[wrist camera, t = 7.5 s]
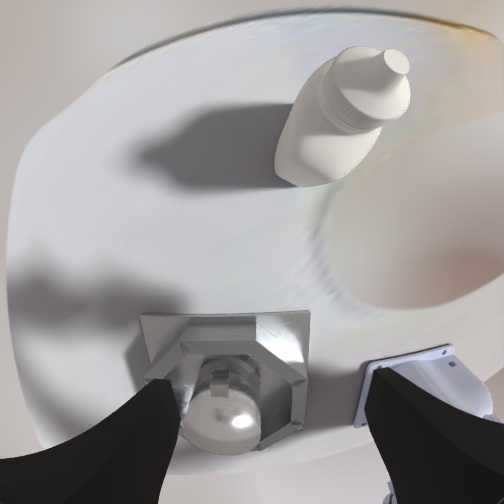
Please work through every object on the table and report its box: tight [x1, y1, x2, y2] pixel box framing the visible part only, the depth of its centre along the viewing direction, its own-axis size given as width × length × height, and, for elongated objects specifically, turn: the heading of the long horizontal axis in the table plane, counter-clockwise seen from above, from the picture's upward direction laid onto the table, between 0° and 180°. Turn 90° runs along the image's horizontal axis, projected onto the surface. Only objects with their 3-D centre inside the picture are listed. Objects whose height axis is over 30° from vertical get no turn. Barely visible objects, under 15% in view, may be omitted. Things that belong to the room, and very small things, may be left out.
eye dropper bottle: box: [274, 46, 410, 187], centre depth 10 cm, size 4×6×12 cm
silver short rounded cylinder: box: [183, 358, 261, 455], centre depth 16 cm, size 6×5×6 cm
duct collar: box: [140, 310, 310, 451], centre depth 18 cm, size 12×12×3 cm
